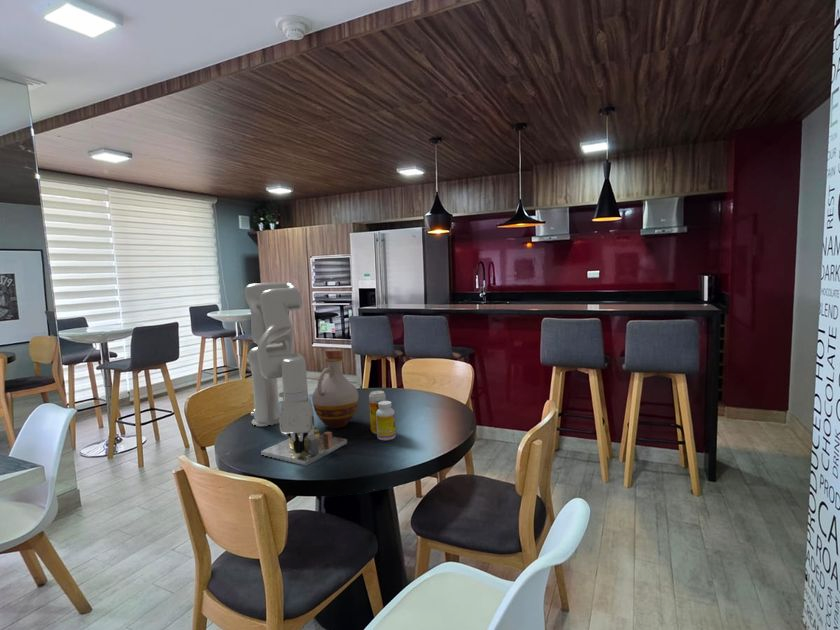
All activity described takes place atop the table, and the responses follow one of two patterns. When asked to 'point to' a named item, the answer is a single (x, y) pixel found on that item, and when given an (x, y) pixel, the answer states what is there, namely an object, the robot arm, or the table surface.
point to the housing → (304, 458)
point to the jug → (335, 394)
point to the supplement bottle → (385, 421)
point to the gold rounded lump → (309, 443)
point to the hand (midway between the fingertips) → (299, 451)
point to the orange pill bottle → (375, 407)
